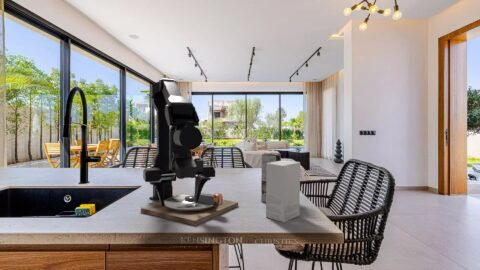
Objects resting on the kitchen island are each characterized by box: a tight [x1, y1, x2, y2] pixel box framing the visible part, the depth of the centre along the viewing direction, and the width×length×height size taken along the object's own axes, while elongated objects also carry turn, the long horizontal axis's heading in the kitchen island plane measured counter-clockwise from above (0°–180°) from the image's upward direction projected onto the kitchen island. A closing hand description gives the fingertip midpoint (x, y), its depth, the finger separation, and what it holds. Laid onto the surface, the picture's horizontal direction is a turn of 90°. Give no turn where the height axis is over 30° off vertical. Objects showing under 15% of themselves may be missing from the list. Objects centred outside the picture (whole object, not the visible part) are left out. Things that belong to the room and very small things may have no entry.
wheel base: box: [140, 199, 239, 226], centre depth 83 cm, size 21×21×1 cm
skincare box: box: [265, 160, 301, 223], centre depth 76 cm, size 8×7×16 cm
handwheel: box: [165, 192, 224, 212], centre depth 83 cm, size 19×16×4 cm
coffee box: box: [260, 152, 282, 203], centre depth 96 cm, size 9×6×16 cm
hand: (180, 204), depth 74 cm, fingers open, 9 cm apart
